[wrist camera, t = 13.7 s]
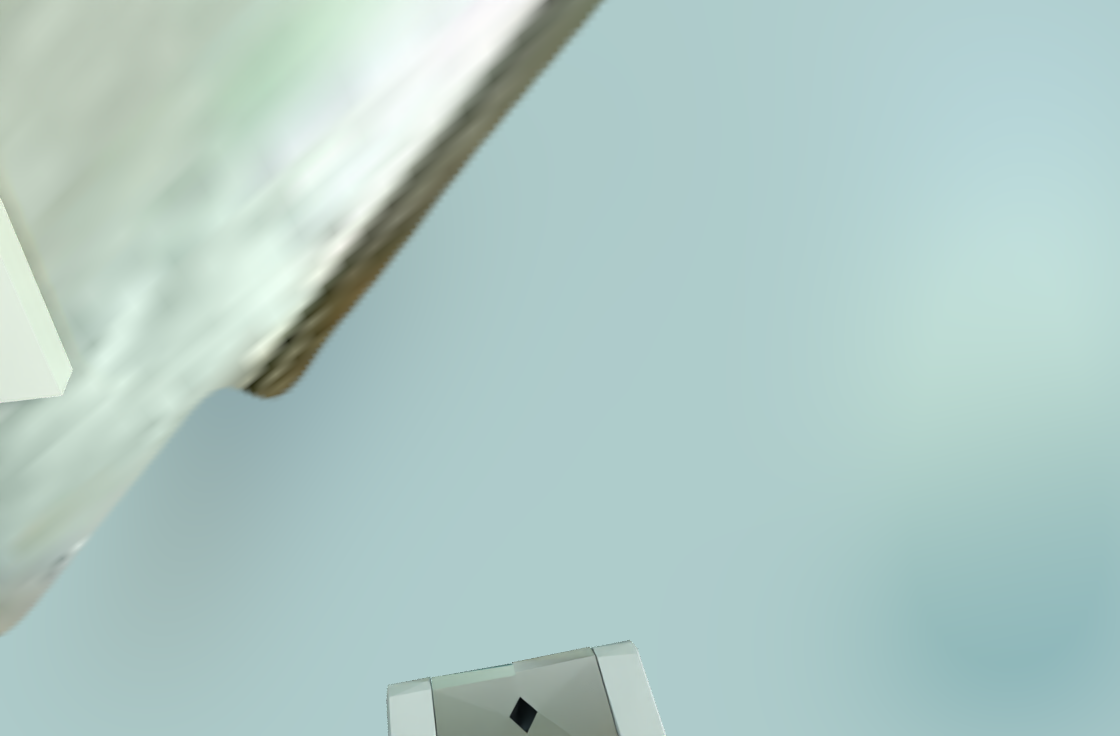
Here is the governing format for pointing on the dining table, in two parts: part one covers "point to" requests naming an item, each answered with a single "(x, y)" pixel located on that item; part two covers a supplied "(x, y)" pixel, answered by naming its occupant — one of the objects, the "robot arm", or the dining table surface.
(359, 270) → the dining table surface
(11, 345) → the tile
